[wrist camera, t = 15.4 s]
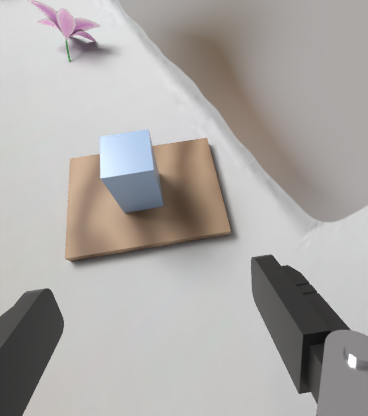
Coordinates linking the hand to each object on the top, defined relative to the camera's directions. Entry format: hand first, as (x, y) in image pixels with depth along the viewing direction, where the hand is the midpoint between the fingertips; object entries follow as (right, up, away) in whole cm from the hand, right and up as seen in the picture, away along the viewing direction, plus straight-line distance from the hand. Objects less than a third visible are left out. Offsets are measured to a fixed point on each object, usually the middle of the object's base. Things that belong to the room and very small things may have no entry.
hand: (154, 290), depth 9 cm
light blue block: (-5, +6, +24) cm, 26 cm away
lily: (-22, +38, +42) cm, 60 cm away
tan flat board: (-5, +5, +26) cm, 27 cm away
